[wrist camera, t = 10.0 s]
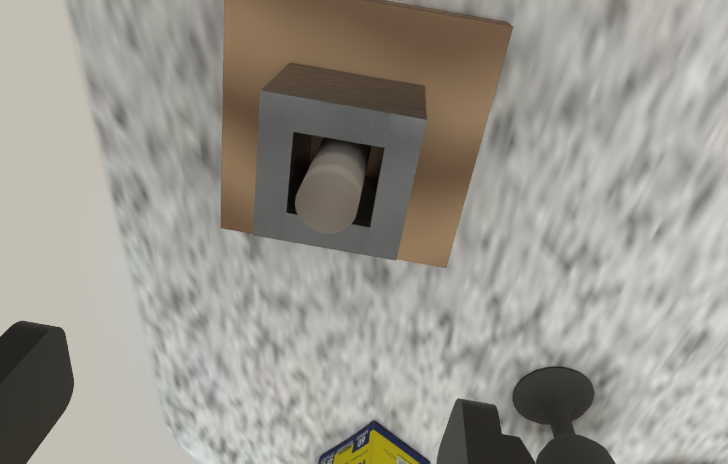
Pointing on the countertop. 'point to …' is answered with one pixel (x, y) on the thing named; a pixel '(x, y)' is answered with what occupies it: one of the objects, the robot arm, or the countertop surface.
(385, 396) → the countertop surface
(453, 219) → the shaft block
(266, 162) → the block
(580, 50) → the countertop surface
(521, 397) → the sundae
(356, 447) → the supplement box
